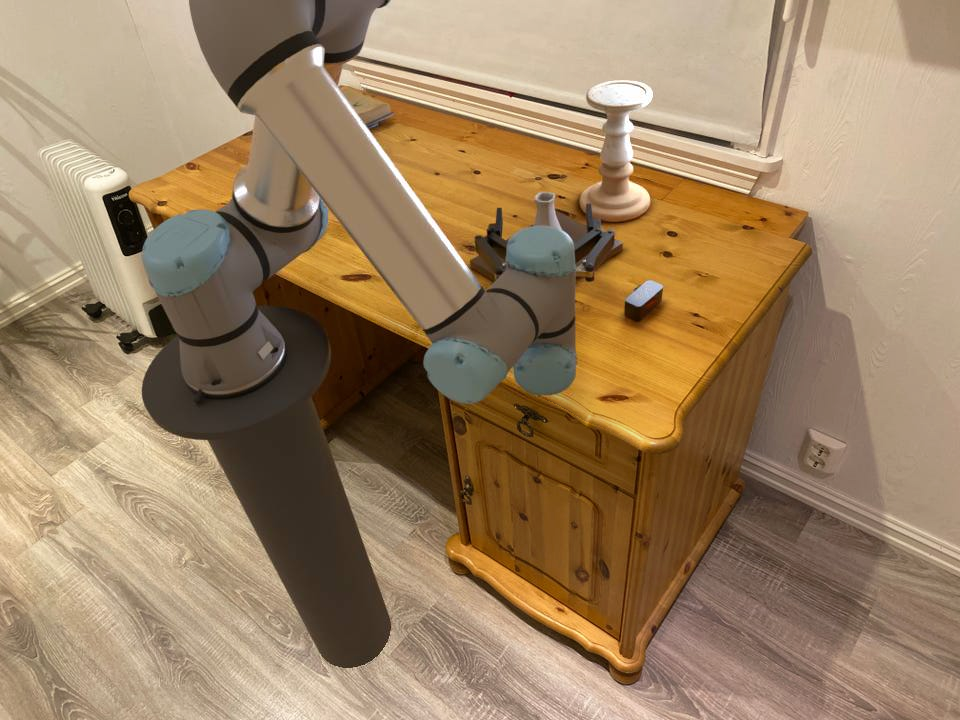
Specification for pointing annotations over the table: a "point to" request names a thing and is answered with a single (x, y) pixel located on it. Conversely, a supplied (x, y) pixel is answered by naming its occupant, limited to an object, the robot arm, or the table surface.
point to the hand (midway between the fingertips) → (543, 213)
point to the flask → (546, 210)
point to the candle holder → (617, 153)
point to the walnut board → (567, 225)
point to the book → (367, 106)
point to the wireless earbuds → (643, 300)
